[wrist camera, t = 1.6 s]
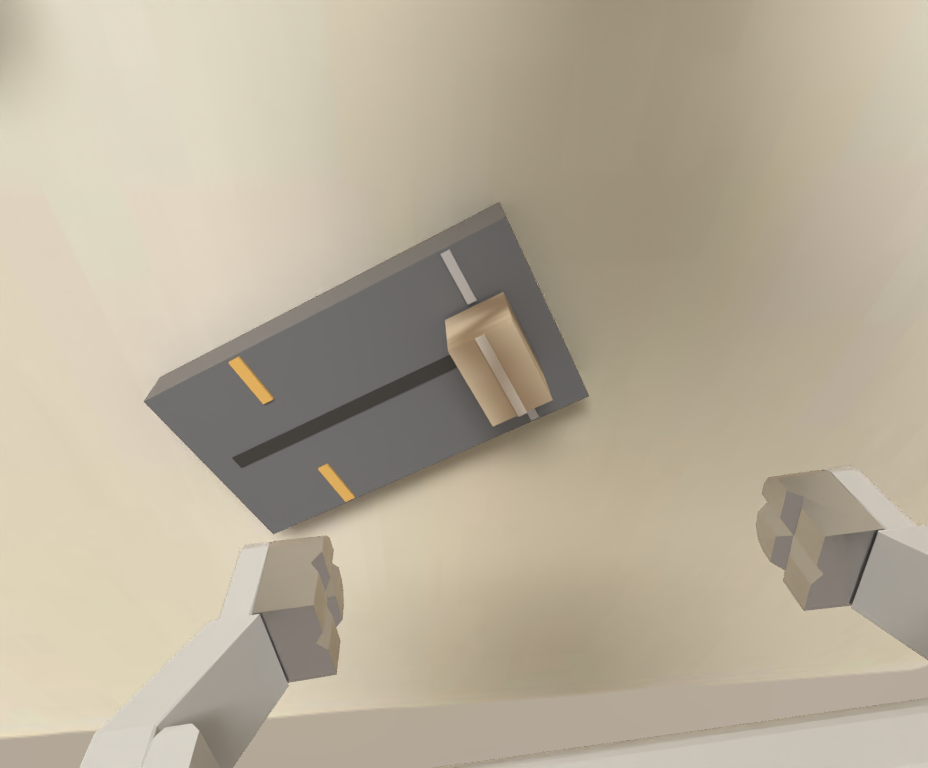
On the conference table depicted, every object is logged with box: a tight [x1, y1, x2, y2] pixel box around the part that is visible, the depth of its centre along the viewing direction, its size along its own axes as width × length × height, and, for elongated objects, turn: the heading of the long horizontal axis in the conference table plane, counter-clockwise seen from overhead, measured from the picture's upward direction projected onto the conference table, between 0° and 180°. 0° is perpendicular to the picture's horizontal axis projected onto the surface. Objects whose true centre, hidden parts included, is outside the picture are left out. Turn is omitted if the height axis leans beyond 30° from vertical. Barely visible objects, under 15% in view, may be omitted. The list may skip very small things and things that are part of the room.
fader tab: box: [445, 292, 553, 426], centre depth 37 cm, size 4×6×4 cm, turn 27°
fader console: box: [144, 203, 589, 534], centre depth 42 cm, size 26×14×3 cm, turn 117°
